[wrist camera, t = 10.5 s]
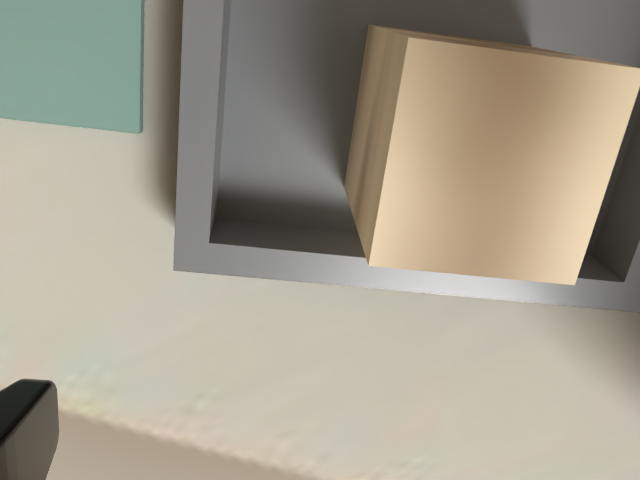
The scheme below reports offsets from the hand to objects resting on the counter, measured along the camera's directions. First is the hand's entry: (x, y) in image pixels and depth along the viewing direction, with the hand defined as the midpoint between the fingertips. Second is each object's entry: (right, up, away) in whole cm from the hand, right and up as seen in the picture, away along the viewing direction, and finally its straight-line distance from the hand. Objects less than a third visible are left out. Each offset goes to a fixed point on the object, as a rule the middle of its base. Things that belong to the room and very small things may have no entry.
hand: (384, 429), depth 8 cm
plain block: (+3, +6, +10) cm, 12 cm away
